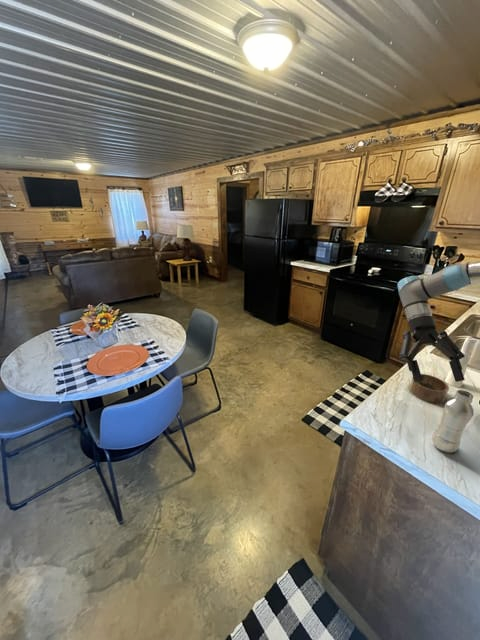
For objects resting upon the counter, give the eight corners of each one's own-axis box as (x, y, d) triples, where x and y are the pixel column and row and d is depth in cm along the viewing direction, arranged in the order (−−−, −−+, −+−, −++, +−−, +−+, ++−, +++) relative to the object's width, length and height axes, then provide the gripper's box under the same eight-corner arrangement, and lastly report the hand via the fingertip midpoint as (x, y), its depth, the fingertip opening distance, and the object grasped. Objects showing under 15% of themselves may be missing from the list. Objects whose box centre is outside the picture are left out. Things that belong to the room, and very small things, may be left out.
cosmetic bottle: (442, 379, 114) (459, 334, 106) (460, 384, 112) (478, 337, 103) (444, 386, 110) (461, 339, 101) (462, 391, 107) (482, 343, 98)
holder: (444, 394, 104) (449, 381, 102) (442, 410, 96) (448, 395, 94) (410, 383, 111) (415, 370, 109) (406, 397, 103) (410, 383, 100)
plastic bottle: (425, 439, 83) (444, 387, 76) (445, 438, 84) (466, 386, 76) (440, 456, 77) (463, 401, 70) (462, 455, 78) (487, 400, 70)
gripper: (446, 322, 94) (467, 382, 86) (378, 323, 93) (393, 383, 85) (463, 314, 87) (488, 378, 79) (391, 314, 86) (408, 379, 78)
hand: (439, 381), depth 82 cm, fingers open, 13 cm apart
